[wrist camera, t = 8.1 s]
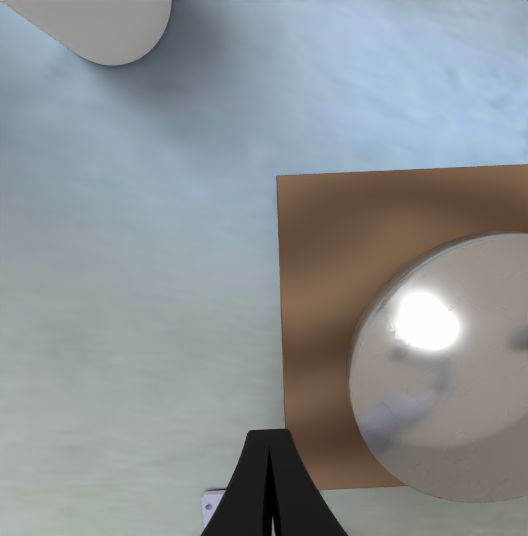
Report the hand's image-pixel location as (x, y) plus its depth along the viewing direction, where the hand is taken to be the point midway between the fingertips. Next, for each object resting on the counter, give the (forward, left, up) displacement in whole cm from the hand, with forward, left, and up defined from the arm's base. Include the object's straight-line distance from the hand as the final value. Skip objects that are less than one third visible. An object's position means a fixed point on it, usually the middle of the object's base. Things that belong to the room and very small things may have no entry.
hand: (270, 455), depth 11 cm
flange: (0, -12, -6) cm, 14 cm away
